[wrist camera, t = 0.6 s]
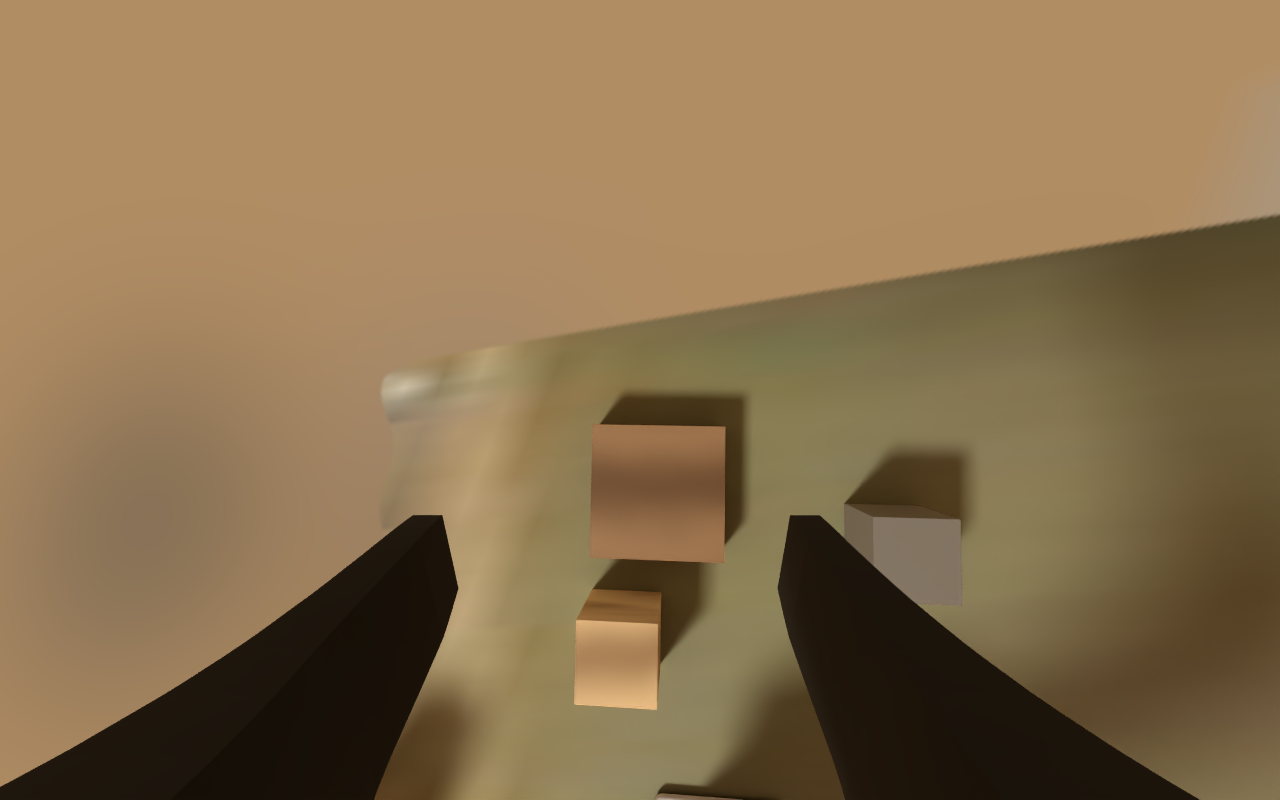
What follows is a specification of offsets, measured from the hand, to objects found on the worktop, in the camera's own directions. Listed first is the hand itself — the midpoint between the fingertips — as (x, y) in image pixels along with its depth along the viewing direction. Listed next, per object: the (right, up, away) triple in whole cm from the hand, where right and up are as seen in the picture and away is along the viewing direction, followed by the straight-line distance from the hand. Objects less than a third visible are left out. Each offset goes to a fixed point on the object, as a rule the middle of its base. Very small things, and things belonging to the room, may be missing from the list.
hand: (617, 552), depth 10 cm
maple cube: (0, -11, +21) cm, 24 cm away
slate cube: (+16, -6, +20) cm, 26 cm away
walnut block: (+2, -2, +21) cm, 22 cm away
